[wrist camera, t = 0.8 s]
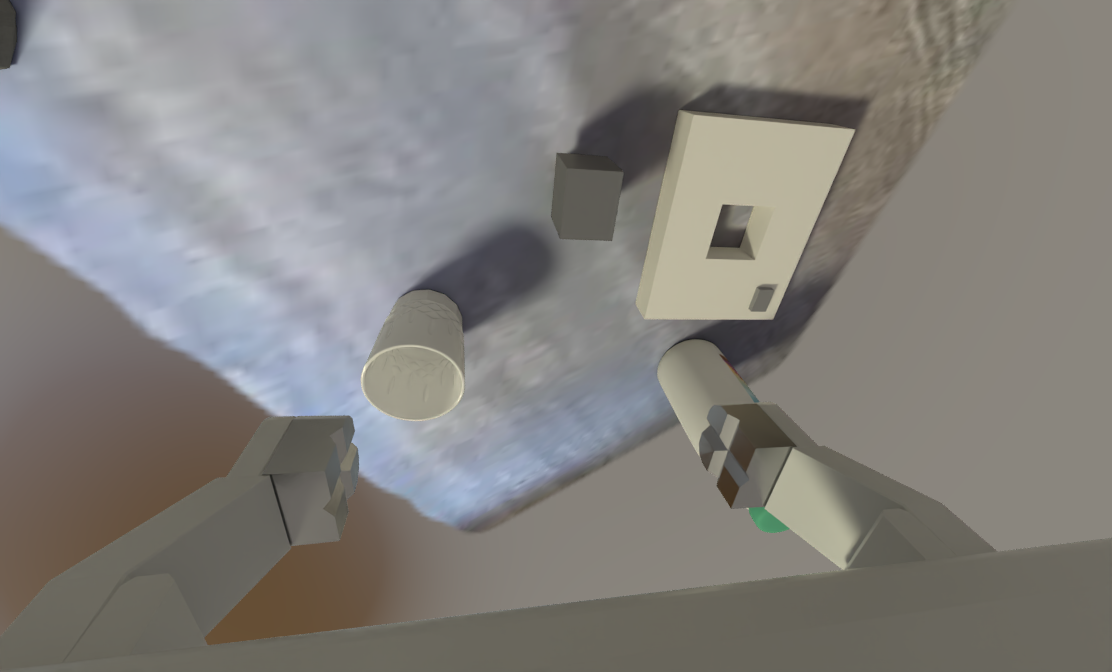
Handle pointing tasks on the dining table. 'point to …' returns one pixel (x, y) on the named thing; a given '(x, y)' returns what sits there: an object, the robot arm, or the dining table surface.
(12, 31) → the coffeepot
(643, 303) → the socket
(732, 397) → the milk bottle
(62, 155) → the dining table surface
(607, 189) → the plug
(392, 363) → the white cup
